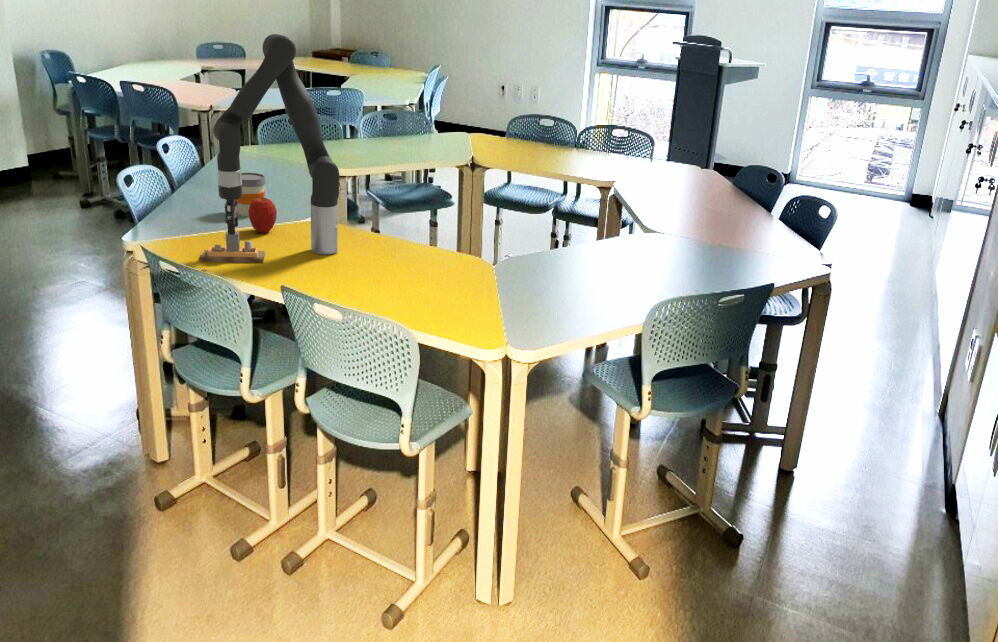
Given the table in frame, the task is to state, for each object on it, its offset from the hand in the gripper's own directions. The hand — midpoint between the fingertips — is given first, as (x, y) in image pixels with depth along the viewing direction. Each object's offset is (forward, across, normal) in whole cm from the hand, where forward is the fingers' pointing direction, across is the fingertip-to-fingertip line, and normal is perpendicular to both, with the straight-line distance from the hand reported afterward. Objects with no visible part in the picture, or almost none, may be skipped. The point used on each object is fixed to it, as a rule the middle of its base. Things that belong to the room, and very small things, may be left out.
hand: (233, 230), depth 285 cm
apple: (+10, -31, +7) cm, 33 cm away
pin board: (+10, 0, 0) cm, 10 cm away
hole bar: (+8, 0, 0) cm, 8 cm away
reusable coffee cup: (+10, -55, 0) cm, 56 cm away
